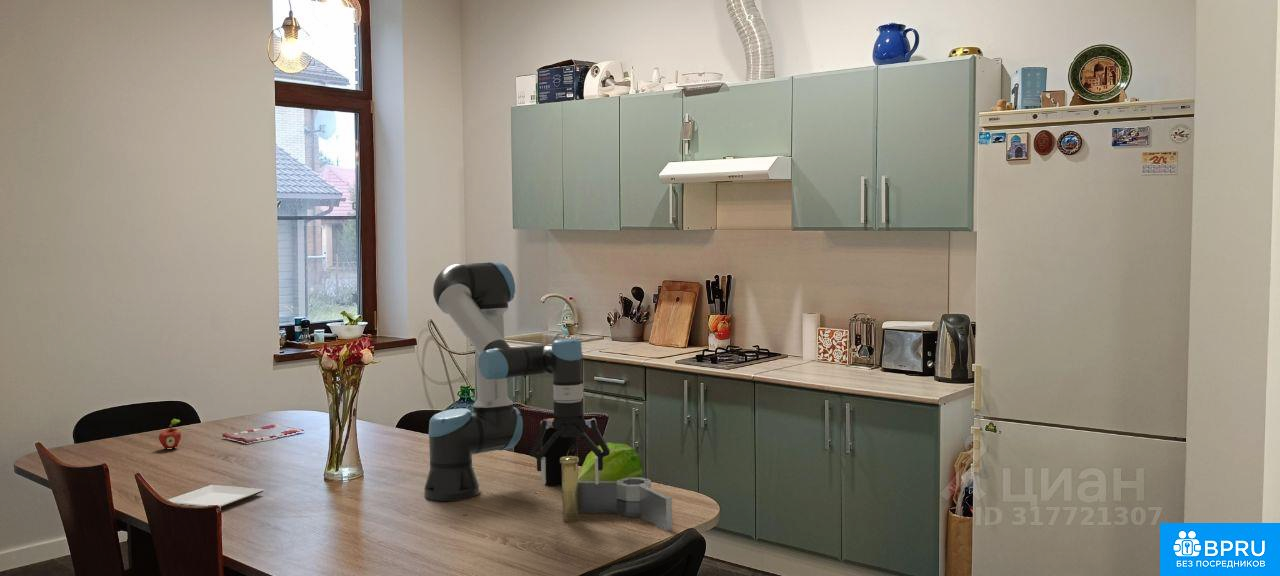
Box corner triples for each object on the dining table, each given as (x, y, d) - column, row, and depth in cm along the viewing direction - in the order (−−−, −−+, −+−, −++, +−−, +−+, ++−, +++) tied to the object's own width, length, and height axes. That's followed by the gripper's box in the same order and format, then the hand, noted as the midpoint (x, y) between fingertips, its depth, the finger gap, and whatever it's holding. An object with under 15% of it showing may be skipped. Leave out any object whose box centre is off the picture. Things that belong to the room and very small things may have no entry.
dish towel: (220, 440, 357) (220, 433, 357) (279, 429, 376) (278, 422, 376) (246, 446, 347) (246, 438, 347) (305, 434, 366) (304, 427, 365)
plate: (265, 496, 281) (264, 488, 281) (217, 514, 263) (216, 506, 263) (211, 491, 287) (211, 484, 287) (161, 508, 269) (161, 501, 269)
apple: (175, 451, 338) (174, 422, 338) (155, 451, 338) (154, 422, 338) (186, 446, 346) (184, 417, 345) (166, 446, 346) (165, 418, 346)
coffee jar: (572, 487, 285) (571, 425, 283) (536, 485, 287) (535, 424, 286) (582, 478, 295) (581, 418, 294) (547, 476, 297) (546, 417, 296)
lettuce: (604, 515, 265) (568, 511, 276) (660, 481, 280) (625, 478, 291) (589, 463, 263) (554, 462, 274) (647, 432, 278) (611, 431, 289)
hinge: (556, 531, 244) (556, 499, 243) (565, 507, 264) (565, 477, 264) (672, 531, 243) (671, 498, 242) (672, 507, 263) (671, 477, 263)
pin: (560, 523, 250) (558, 460, 249) (562, 517, 255) (561, 456, 254) (579, 523, 250) (577, 460, 249) (580, 517, 255) (579, 456, 254)
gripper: (517, 403, 247) (519, 487, 249) (616, 402, 247) (618, 486, 248) (521, 398, 255) (523, 480, 256) (618, 397, 254) (620, 478, 255)
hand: (570, 483), depth 252 cm, fingers open, 13 cm apart
